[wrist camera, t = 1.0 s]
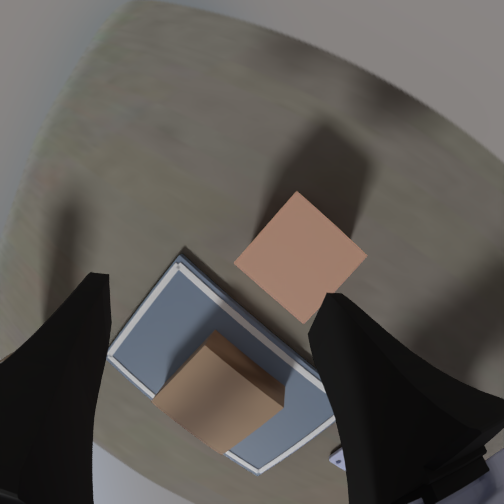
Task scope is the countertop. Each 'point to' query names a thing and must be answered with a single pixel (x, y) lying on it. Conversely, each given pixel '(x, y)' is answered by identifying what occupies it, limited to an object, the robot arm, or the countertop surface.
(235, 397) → the walnut base block
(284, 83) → the countertop surface
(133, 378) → the board
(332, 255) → the terracotta block
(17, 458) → the robot arm
